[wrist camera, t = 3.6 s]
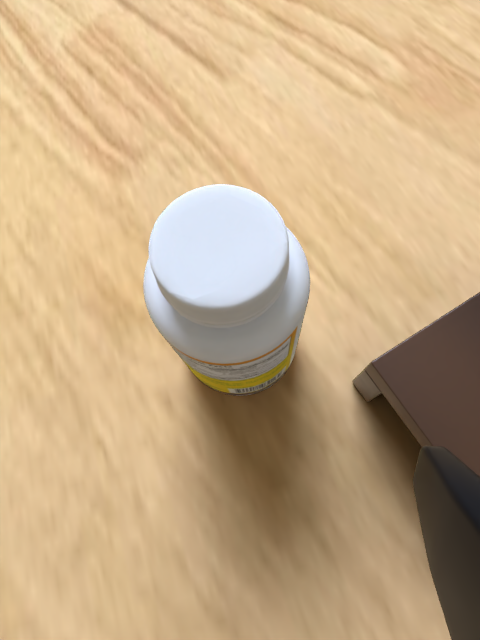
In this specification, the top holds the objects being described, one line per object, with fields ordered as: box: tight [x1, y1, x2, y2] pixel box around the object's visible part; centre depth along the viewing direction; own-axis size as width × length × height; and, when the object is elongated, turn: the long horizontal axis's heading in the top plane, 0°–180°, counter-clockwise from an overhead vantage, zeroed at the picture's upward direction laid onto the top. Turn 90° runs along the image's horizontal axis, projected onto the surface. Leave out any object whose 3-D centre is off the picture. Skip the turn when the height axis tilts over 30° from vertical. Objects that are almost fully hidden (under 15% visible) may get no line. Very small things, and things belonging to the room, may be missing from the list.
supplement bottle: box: [144, 184, 310, 396], centre depth 17 cm, size 6×6×10 cm
